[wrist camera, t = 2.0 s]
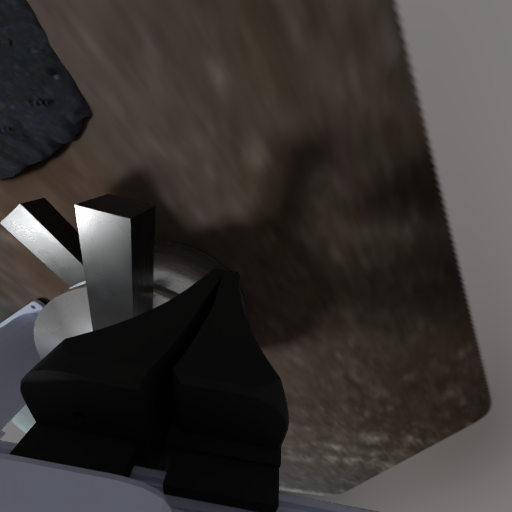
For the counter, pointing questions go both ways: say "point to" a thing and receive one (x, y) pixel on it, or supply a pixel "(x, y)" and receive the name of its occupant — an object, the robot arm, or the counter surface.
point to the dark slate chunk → (33, 92)
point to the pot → (70, 257)
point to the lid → (106, 272)
